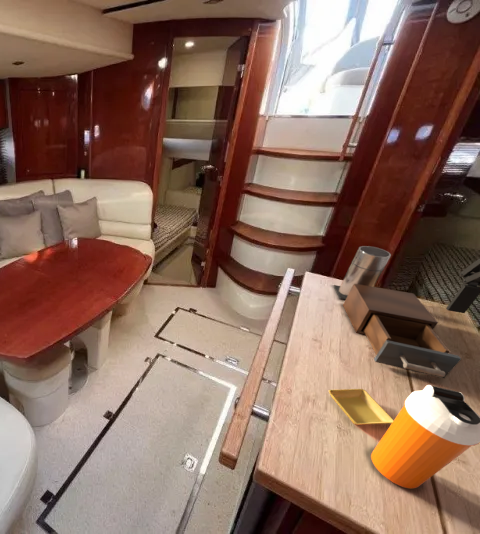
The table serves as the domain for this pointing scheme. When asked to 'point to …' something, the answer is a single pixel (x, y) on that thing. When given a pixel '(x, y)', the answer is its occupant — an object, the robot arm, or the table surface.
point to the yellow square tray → (360, 407)
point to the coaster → (339, 293)
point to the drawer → (409, 346)
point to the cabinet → (384, 306)
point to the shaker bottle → (426, 436)
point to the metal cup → (364, 268)
